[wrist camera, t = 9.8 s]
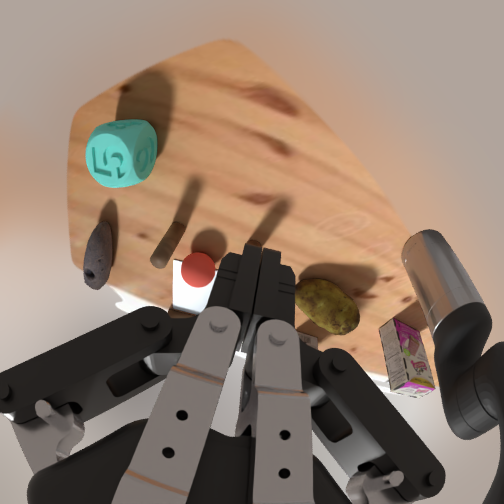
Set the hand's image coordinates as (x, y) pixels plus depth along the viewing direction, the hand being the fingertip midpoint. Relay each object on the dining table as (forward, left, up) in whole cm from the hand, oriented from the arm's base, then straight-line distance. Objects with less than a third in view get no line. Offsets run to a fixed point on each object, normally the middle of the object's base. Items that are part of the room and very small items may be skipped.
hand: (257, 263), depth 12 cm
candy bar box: (-38, +33, -29) cm, 58 cm away
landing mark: (+6, +34, -28) cm, 45 cm away
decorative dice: (+21, +6, -29) cm, 36 cm away
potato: (-16, +26, -29) cm, 42 cm away
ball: (+7, +25, -25) cm, 36 cm away
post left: (+12, +20, -28) cm, 37 cm away
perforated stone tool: (+28, +28, -29) cm, 49 cm away
